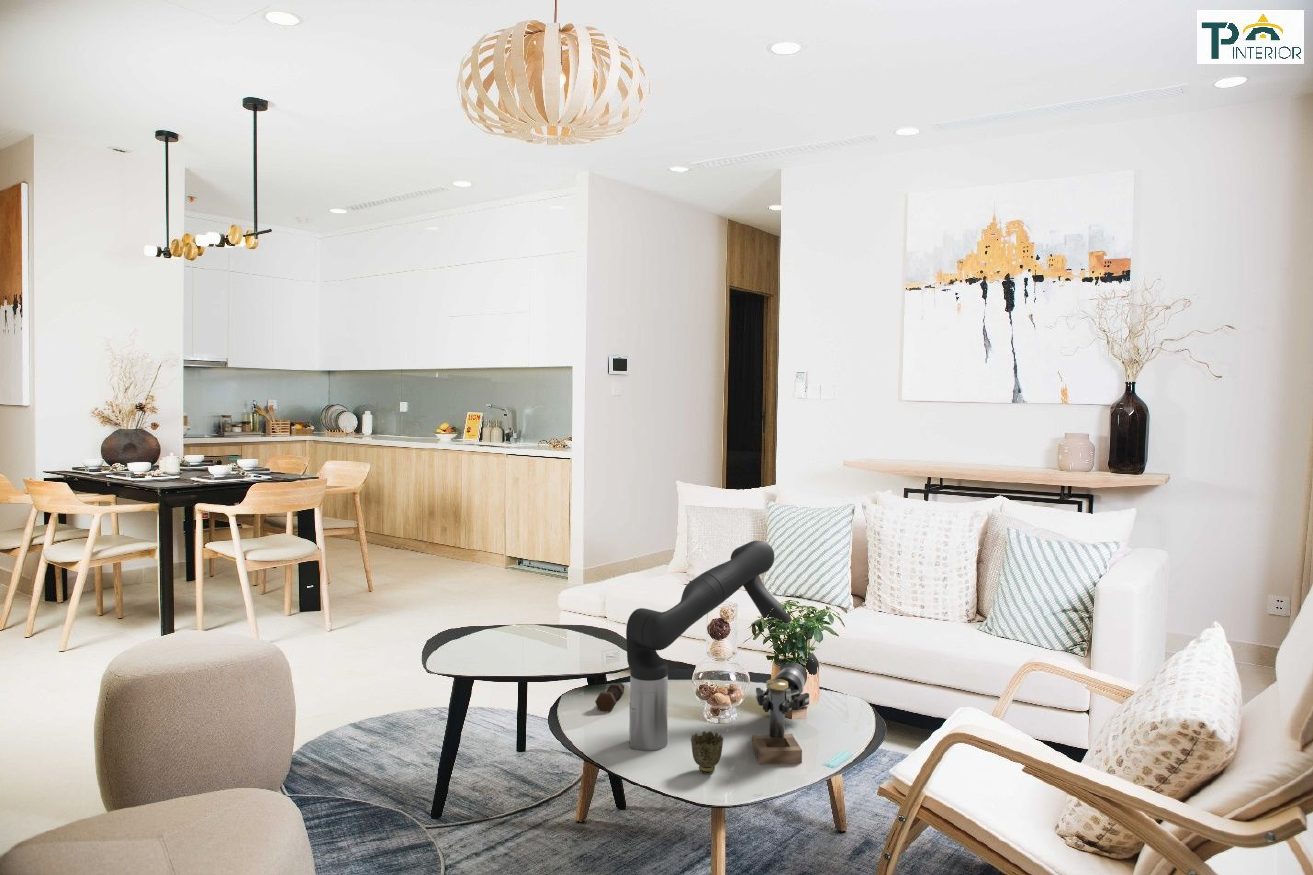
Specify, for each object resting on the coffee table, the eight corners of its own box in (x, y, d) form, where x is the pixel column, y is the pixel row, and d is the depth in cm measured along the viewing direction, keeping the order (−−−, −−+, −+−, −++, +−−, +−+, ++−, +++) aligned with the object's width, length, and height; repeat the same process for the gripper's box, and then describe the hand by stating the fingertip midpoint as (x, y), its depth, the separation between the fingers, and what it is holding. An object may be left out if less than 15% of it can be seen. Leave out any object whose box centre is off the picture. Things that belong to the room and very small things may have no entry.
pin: (768, 740, 209) (768, 686, 209) (763, 731, 215) (764, 679, 214) (790, 739, 210) (790, 685, 209) (784, 731, 215) (785, 678, 214)
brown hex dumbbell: (621, 700, 255) (607, 716, 240) (607, 690, 256) (592, 706, 241) (631, 683, 254) (617, 699, 240) (617, 673, 255) (602, 688, 241)
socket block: (759, 764, 207) (760, 751, 207) (751, 747, 217) (751, 735, 217) (801, 762, 208) (802, 750, 208) (791, 745, 218) (791, 733, 217)
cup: (699, 780, 198) (699, 745, 197) (685, 767, 205) (685, 733, 204) (728, 774, 201) (729, 740, 200) (713, 762, 208) (714, 729, 207)
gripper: (760, 668, 227) (745, 690, 211) (816, 674, 223) (804, 696, 207) (760, 697, 228) (745, 721, 212) (815, 703, 223) (804, 728, 207)
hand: (774, 709), depth 209 cm, fingers closed on pin, 3 cm apart
